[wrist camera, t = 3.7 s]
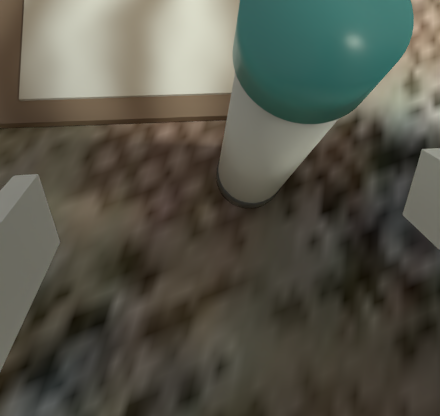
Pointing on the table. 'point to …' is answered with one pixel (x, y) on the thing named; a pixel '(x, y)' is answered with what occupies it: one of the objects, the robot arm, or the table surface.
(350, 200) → the table surface
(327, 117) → the marker
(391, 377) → the table surface
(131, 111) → the writing pad
